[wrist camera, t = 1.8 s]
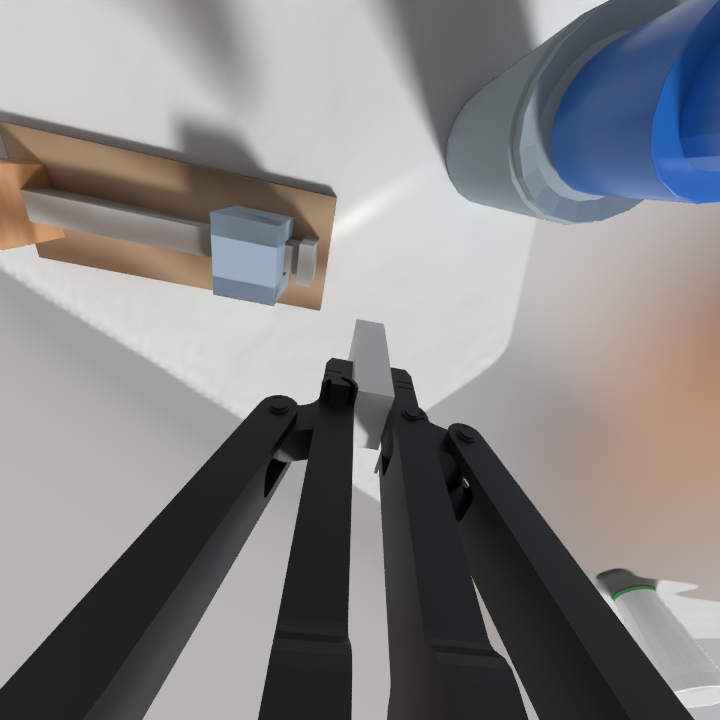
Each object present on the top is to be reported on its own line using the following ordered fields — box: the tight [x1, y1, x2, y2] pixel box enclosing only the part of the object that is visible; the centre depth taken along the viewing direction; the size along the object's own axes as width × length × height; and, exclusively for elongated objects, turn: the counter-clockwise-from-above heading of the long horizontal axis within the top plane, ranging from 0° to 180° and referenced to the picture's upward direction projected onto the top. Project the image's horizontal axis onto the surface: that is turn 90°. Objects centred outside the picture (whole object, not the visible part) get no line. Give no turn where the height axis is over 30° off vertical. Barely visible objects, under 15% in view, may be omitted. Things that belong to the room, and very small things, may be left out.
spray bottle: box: [446, 0, 720, 225], centre depth 16 cm, size 9×9×25 cm
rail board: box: [0, 122, 337, 311], centre depth 27 cm, size 11×28×7 cm, turn 79°
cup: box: [613, 586, 720, 708], centre depth 61 cm, size 12×12×15 cm
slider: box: [210, 205, 294, 306], centre depth 27 cm, size 6×5×6 cm
